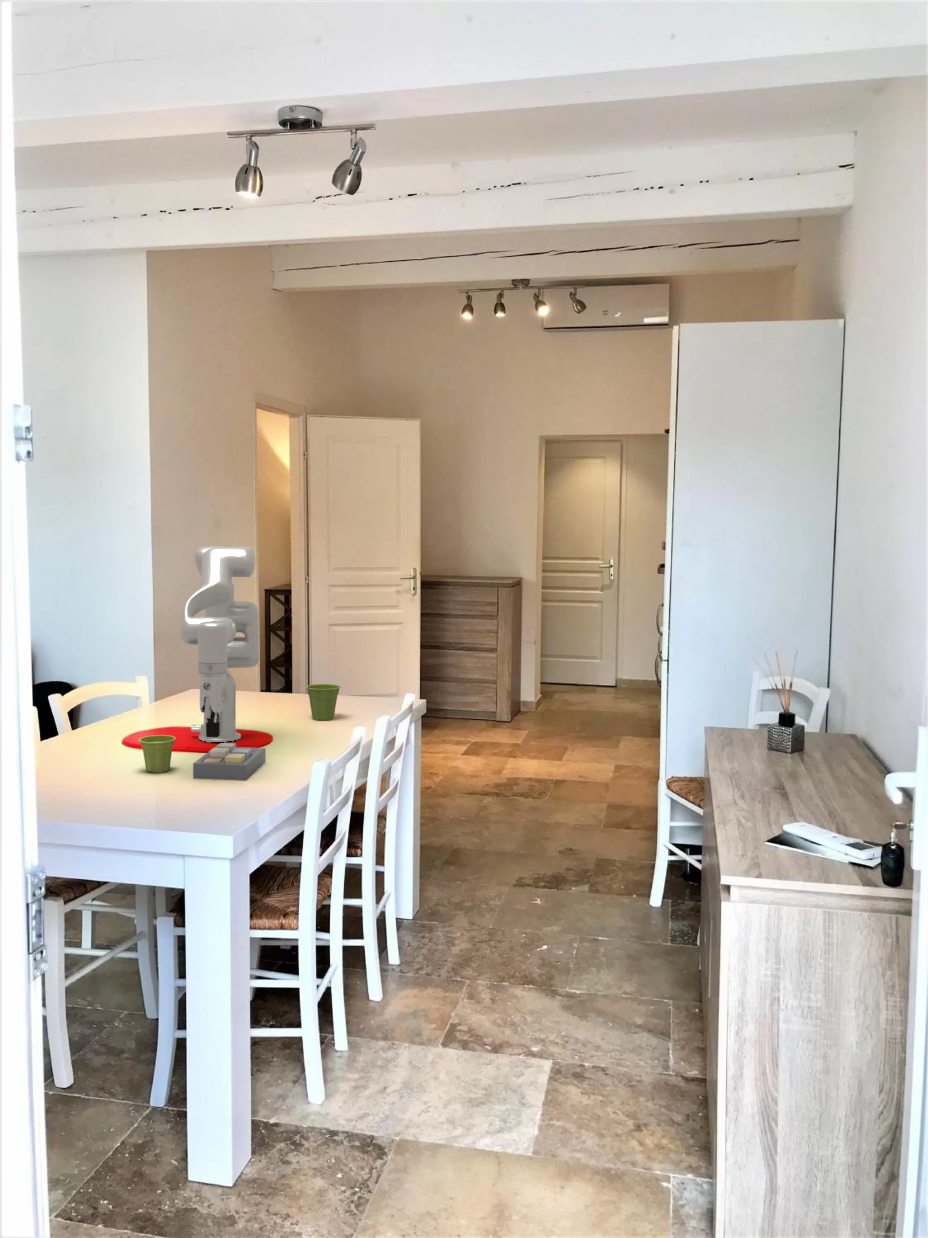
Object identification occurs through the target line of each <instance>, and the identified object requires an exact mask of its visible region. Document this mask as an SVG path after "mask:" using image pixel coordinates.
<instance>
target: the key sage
mask: <svg viewBox="0 0 928 1238" xmlns="http://www.w3.org/2000/svg"><path fill="white" fill-rule="evenodd" d="M215 747H216V748H229V752H232V751H233V750H235V749H236V747H237V746H236V742H234V743H233V742H224V743H219V744H217V745H215Z"/></svg>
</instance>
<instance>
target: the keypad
mask: <svg viewBox="0 0 928 1238" xmlns="http://www.w3.org/2000/svg"><path fill="white" fill-rule="evenodd" d="M214 748H216V746H215V747H214ZM236 748H238V749H251V756H250V757H249V758H245V761H244V762H243V763H242V764H236V763H225V758H224V757H210V750H209V751H208V752H207V753H205V754H204V755H203V756H201V757H200V758H198V759H197V760H195V761H194V762H193V763H192V768H193V769H192V772H193V773H192V778H193V779H196V778H198V779H199V780H225V781H226V780H227V781H229V780H230V781H247V780H248V779H249V778H251V776H252V775H254V773H256V772H257V771H258V768H259V769H260V768H261V767H262V766H263V765H264V764H265V763H266V747H248V746H247V747H245V746H244V747H243V746H242V747H239V746H236ZM230 753H231V754H232V752H229V754H230ZM207 758H222V759H223V760H222V761H221V762H220V763H208V762H203V761H204V760H205V759H207Z"/></svg>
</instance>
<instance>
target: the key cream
mask: <svg viewBox="0 0 928 1238" xmlns="http://www.w3.org/2000/svg"><path fill="white" fill-rule="evenodd" d="M209 751H210V757H224V758H225V757H226V756H227V755H228V754H229V748H215V747H213V748H211V749H210V750H209Z"/></svg>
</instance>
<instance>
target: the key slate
mask: <svg viewBox="0 0 928 1238" xmlns="http://www.w3.org/2000/svg"><path fill="white" fill-rule="evenodd" d="M232 754H245V758H249V757H250V756H251V749H238V748H236V749H235V750H233V751H232Z"/></svg>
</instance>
